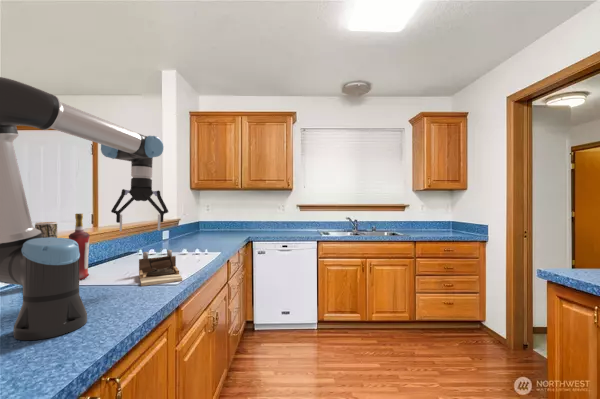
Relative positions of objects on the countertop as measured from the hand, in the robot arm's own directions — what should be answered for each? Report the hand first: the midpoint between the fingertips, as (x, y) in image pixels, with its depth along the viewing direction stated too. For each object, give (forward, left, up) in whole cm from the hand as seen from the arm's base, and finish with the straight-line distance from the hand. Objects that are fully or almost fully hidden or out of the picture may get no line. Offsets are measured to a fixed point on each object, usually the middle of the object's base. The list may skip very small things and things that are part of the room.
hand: (140, 230), depth 123 cm
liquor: (+23, +22, -22) cm, 39 cm away
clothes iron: (+8, -8, -20) cm, 23 cm away
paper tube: (+17, +32, -22) cm, 42 cm away
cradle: (+7, -8, -21) cm, 24 cm away
